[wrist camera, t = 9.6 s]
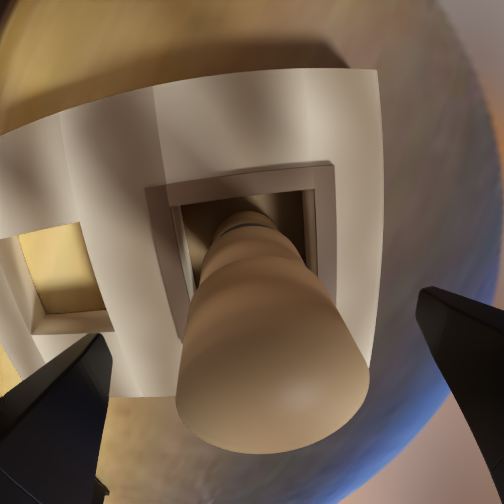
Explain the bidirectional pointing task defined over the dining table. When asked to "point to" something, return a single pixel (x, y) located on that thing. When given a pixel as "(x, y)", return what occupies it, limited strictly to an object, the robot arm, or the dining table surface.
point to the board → (188, 192)
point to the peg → (265, 347)
